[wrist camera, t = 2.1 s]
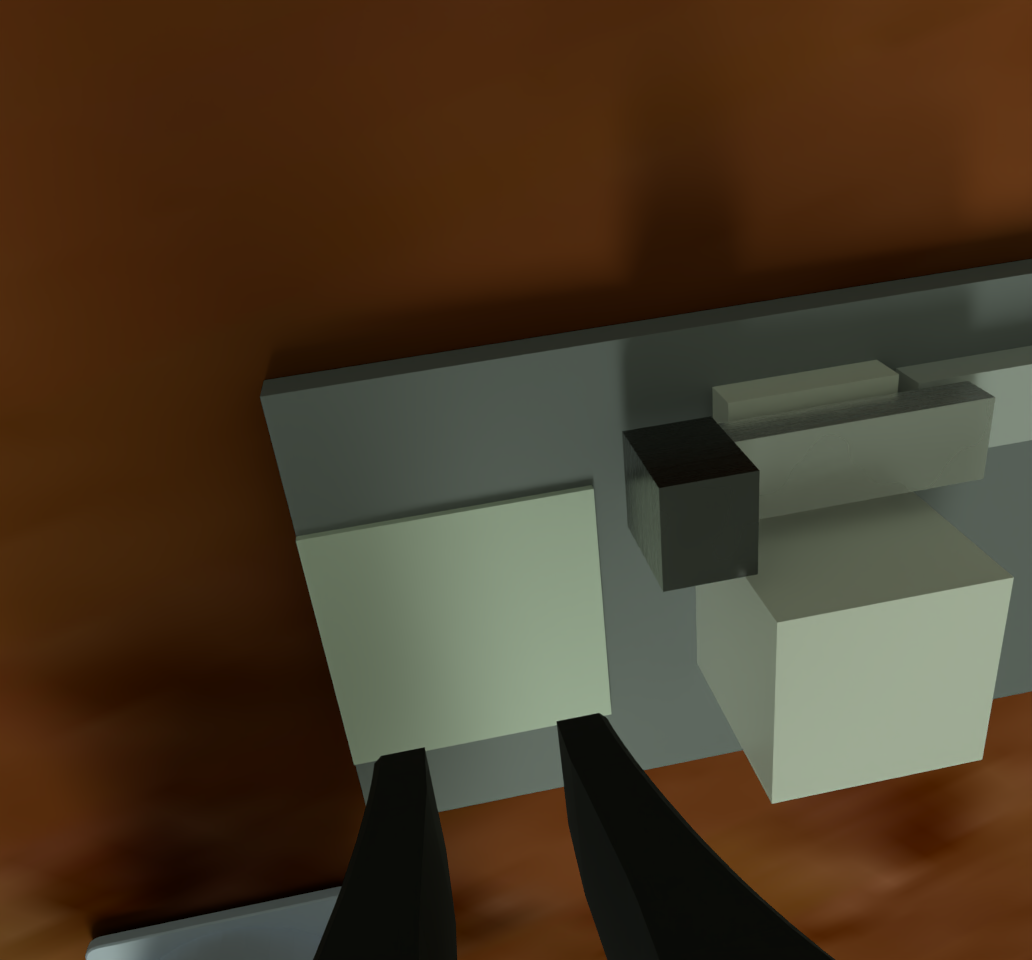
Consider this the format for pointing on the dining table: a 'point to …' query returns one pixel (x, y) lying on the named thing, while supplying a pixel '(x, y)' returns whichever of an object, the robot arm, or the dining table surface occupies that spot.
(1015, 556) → the housing plate
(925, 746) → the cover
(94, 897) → the dining table surface
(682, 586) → the bolt
